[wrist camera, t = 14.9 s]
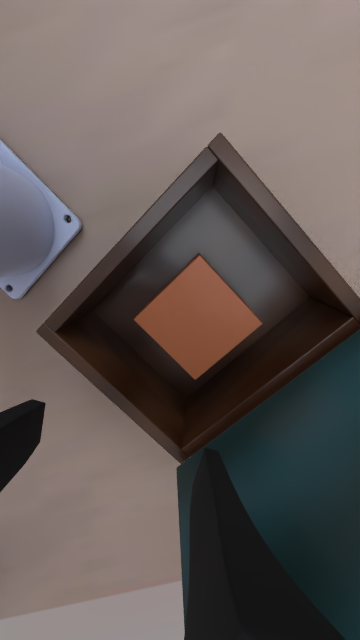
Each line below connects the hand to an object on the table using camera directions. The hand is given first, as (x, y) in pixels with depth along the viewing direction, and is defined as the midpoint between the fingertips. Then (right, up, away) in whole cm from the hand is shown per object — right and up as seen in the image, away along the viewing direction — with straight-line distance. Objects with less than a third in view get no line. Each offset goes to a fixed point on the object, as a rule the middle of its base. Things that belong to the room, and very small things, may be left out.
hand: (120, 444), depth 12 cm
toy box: (+4, +7, +9) cm, 12 cm away
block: (+4, +7, +8) cm, 11 cm away
